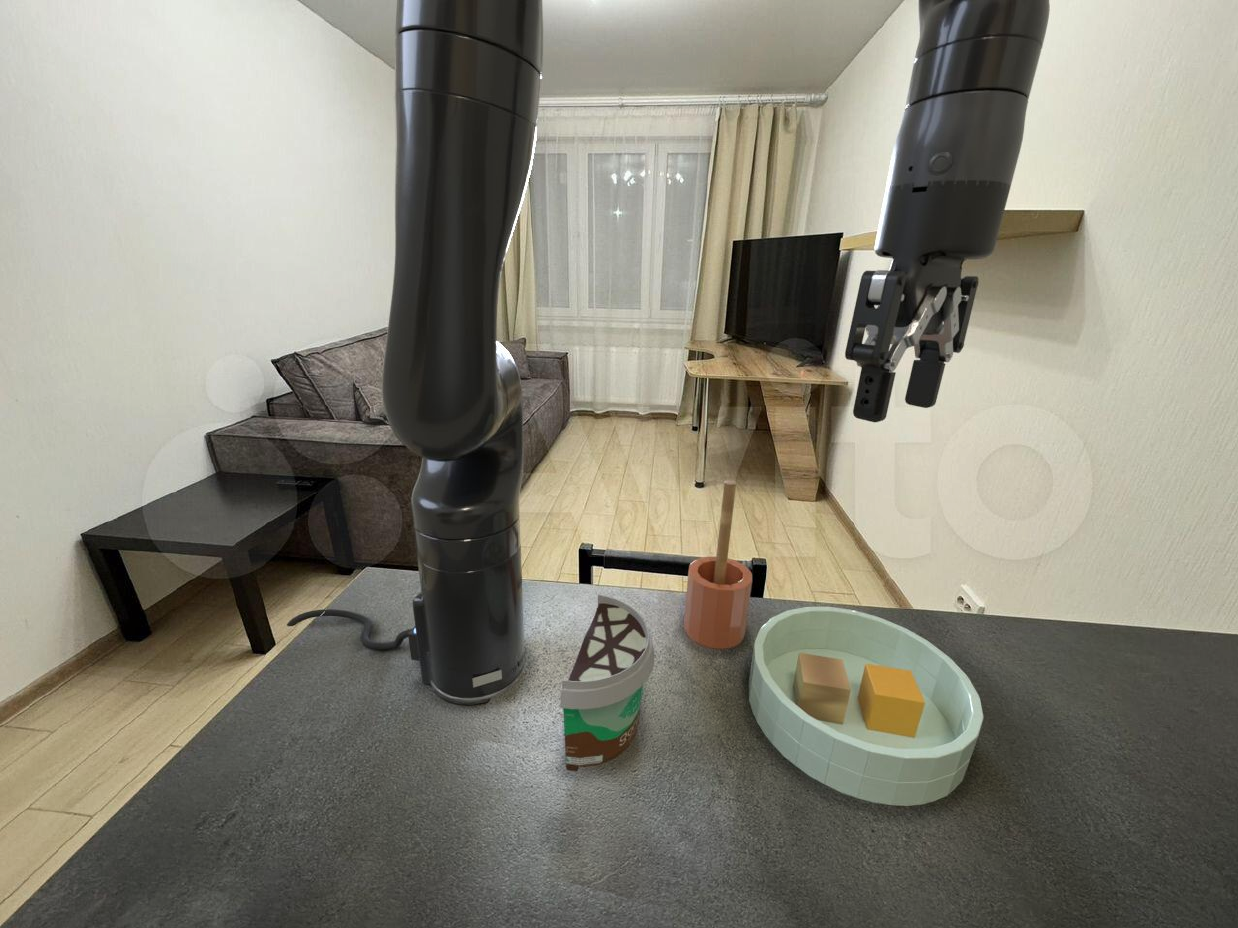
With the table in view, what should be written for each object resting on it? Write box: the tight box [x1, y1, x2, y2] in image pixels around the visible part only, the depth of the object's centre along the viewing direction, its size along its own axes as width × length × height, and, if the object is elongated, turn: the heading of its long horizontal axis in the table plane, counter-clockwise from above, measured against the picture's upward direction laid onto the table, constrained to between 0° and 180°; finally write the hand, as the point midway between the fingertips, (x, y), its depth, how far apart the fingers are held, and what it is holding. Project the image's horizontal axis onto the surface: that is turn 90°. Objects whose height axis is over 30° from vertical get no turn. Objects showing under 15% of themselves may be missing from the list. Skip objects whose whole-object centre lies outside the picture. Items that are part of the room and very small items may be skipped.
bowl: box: [748, 606, 985, 807], centre depth 48 cm, size 19×19×6 cm
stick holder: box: [683, 556, 753, 650], centre depth 58 cm, size 7×7×8 cm
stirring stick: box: [713, 479, 737, 585], centre depth 56 cm, size 1×1×18 cm
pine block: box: [793, 653, 851, 725], centre depth 49 cm, size 4×4×4 cm
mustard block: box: [858, 664, 925, 738], centre depth 48 cm, size 4×4×4 cm
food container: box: [559, 594, 656, 772], centre depth 45 cm, size 12×6×10 cm, turn 168°
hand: (894, 412), depth 42 cm, fingers open, 8 cm apart
